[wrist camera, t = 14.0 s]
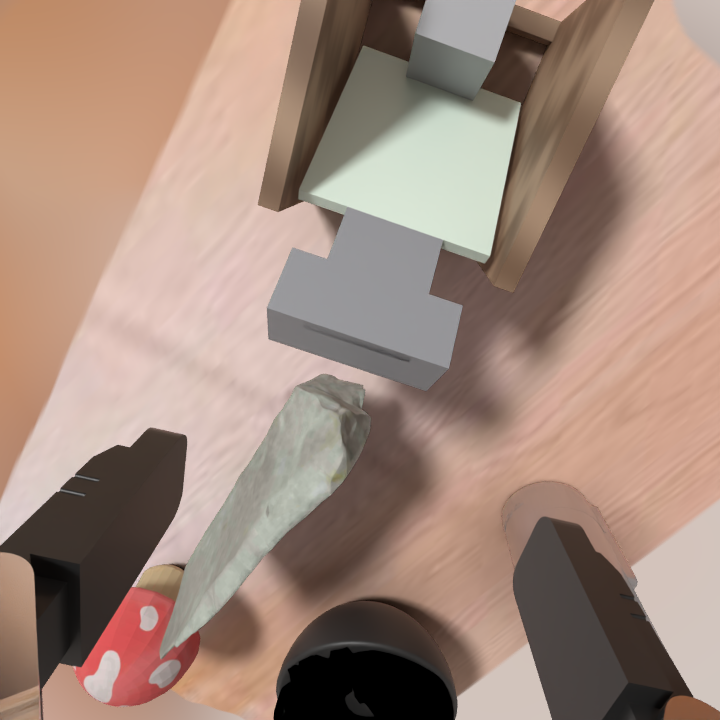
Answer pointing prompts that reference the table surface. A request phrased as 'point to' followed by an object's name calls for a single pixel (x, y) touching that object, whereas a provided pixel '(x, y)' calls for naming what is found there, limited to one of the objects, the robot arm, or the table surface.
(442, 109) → the trapdoor
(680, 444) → the table surface
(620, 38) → the wooden bench shelf
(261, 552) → the rock
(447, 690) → the coal bowl
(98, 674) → the decorative mushroom
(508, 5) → the gray block
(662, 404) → the table surface
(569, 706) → the robot arm
